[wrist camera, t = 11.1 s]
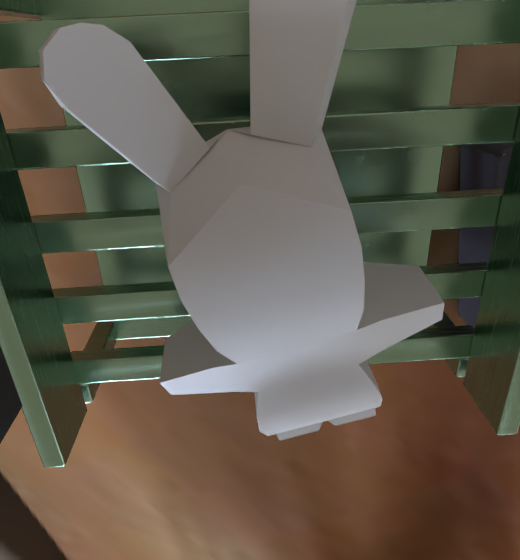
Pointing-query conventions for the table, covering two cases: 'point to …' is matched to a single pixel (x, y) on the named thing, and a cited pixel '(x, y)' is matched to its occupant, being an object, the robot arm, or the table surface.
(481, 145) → the calculator
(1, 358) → the robot arm
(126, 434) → the table surface
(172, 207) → the bunny figurine
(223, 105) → the rack
